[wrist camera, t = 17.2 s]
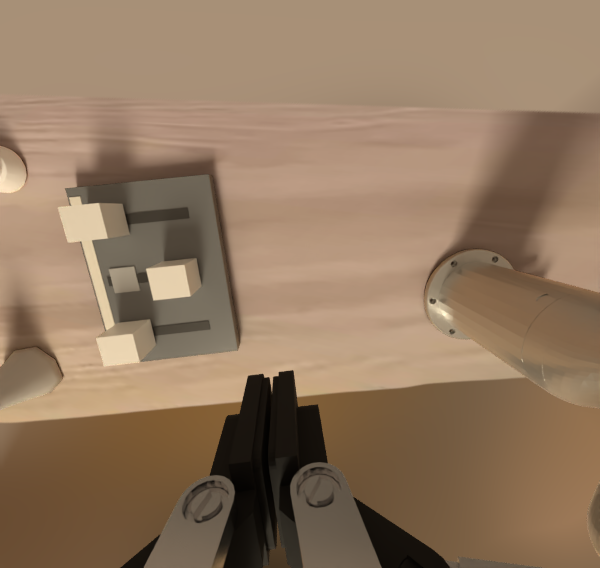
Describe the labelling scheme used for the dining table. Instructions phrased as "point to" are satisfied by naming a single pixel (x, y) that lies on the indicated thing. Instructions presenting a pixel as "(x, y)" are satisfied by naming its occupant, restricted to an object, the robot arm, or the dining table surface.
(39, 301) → the dining table surface
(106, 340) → the cream cube
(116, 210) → the tab
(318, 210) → the dining table surface
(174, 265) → the tab
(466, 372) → the dining table surface
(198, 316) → the switch panel
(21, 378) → the flask
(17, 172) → the upside-down white bowl
